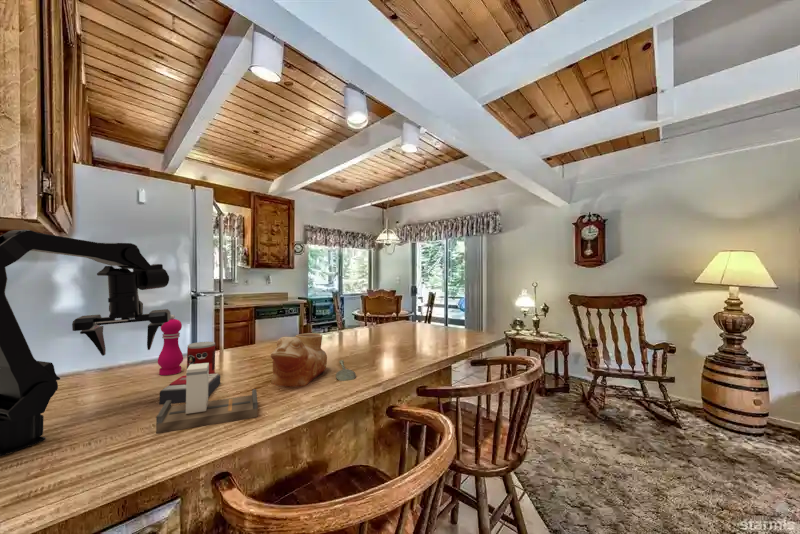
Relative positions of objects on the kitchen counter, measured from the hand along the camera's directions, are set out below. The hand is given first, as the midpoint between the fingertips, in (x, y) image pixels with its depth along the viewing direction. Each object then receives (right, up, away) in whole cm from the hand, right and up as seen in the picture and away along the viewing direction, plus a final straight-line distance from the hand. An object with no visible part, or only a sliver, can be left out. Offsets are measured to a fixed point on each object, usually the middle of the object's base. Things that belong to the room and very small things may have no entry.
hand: (127, 352), depth 85 cm
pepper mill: (-9, -15, +28) cm, 33 cm away
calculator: (+11, -15, +10) cm, 21 cm away
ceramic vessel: (+37, -15, +24) cm, 47 cm away
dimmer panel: (+25, -14, -6) cm, 29 cm away
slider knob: (+22, -12, -7) cm, 26 cm away
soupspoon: (+51, -16, +32) cm, 62 cm away
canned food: (+5, -15, +24) cm, 28 cm away
